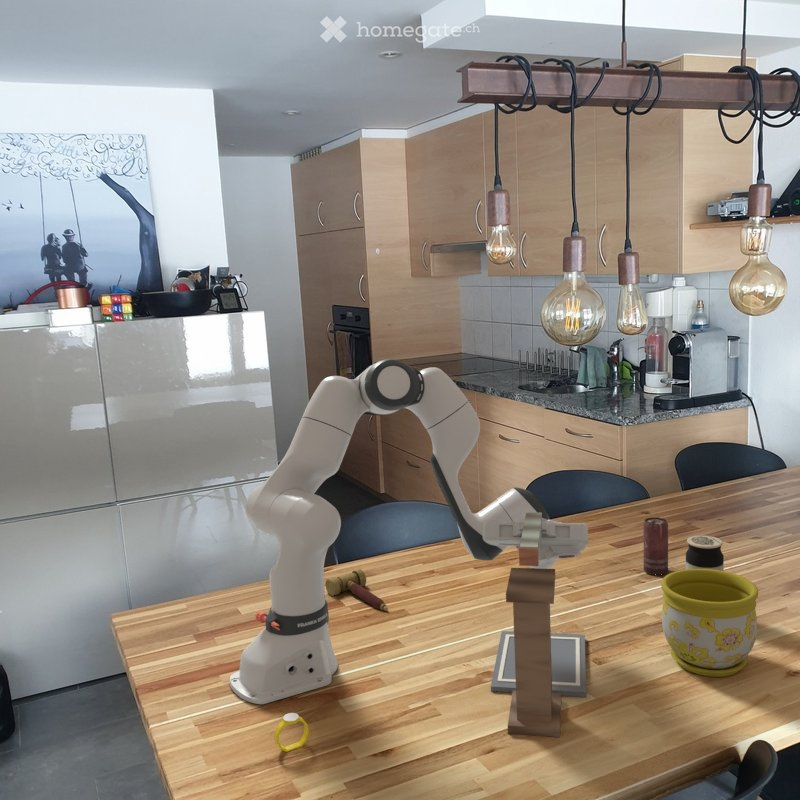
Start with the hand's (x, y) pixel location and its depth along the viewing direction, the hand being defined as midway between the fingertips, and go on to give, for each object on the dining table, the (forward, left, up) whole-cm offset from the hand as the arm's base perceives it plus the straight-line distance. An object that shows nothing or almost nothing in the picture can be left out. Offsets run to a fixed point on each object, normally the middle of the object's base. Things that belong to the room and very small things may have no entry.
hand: (532, 526), depth 149 cm
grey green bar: (-4, -3, -2) cm, 5 cm away
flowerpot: (+33, -16, -33) cm, 49 cm away
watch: (-45, +16, -33) cm, 58 cm away
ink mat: (+8, +7, -33) cm, 35 cm away
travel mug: (+51, -4, -33) cm, 61 cm away
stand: (-7, -6, -33) cm, 34 cm away
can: (+66, +19, -33) cm, 76 cm away
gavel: (+1, +60, -34) cm, 69 cm away
